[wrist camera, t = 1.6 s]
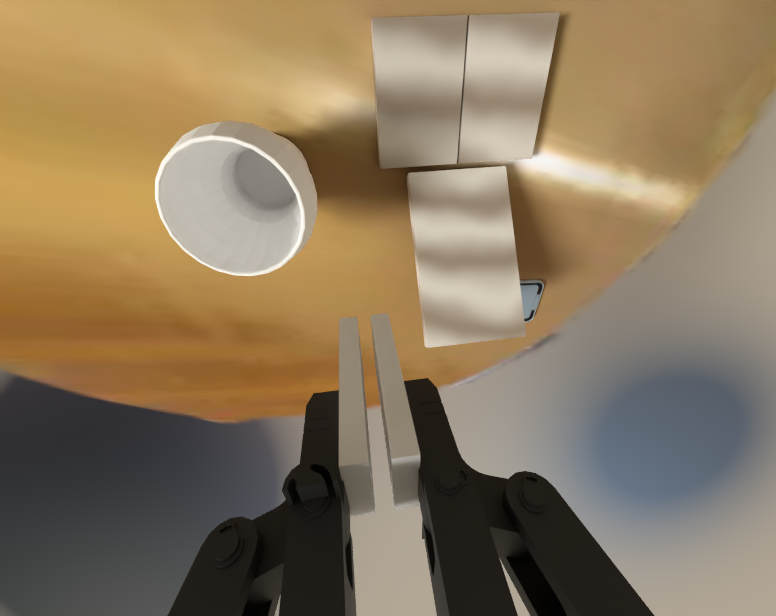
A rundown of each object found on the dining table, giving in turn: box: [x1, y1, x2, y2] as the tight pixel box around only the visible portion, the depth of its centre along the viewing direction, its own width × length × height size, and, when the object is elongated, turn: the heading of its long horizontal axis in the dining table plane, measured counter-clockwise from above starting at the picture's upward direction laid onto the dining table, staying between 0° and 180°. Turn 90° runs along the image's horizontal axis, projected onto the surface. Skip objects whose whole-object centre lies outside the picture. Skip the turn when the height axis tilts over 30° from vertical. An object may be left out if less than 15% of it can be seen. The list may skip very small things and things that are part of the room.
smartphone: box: [520, 280, 544, 322], centre depth 47 cm, size 7×1×15 cm
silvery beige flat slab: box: [406, 166, 526, 348], centre depth 35 cm, size 19×11×2 cm
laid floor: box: [371, 12, 560, 169], centre depth 31 cm, size 12×17×2 cm
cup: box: [155, 121, 317, 276], centre depth 27 cm, size 11×11×15 cm
